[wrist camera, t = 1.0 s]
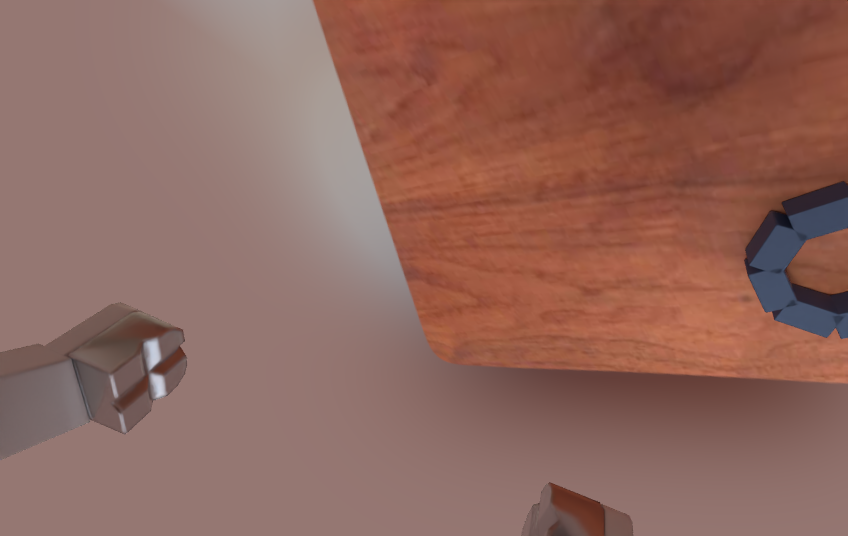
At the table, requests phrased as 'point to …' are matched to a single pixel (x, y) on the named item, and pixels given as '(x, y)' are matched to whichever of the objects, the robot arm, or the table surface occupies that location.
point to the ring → (780, 246)
